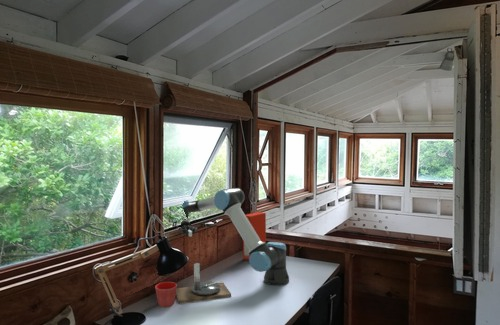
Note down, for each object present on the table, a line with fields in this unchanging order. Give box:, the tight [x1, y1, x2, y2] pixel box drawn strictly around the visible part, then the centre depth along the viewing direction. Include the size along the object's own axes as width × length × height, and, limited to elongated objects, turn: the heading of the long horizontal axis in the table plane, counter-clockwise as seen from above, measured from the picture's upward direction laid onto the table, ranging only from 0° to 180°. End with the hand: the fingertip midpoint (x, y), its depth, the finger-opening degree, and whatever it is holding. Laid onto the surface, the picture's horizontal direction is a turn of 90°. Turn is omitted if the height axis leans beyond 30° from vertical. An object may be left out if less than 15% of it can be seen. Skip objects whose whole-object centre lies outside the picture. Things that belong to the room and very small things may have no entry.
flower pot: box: [154, 281, 178, 308], centre depth 189 cm, size 11×11×10 cm
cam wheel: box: [190, 262, 222, 296], centre depth 203 cm, size 18×16×16 cm
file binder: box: [242, 211, 267, 262], centre depth 269 cm, size 8×17×32 cm, turn 140°
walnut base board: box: [175, 282, 232, 305], centre depth 202 cm, size 28×18×2 cm, turn 108°
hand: (190, 234), depth 214 cm, fingers closed
